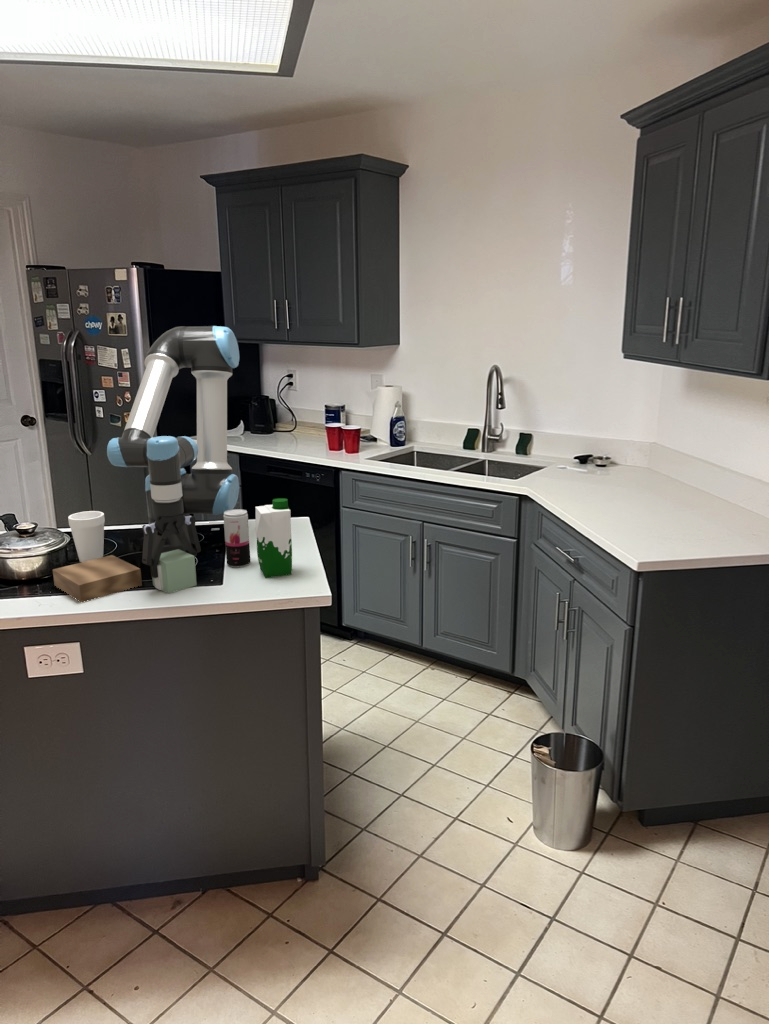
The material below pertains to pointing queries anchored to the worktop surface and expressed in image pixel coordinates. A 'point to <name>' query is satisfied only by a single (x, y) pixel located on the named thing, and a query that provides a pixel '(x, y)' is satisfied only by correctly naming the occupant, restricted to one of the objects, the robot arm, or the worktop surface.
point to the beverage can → (237, 538)
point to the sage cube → (177, 570)
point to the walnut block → (97, 578)
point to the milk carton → (274, 538)
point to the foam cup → (88, 534)
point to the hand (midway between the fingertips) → (174, 584)
